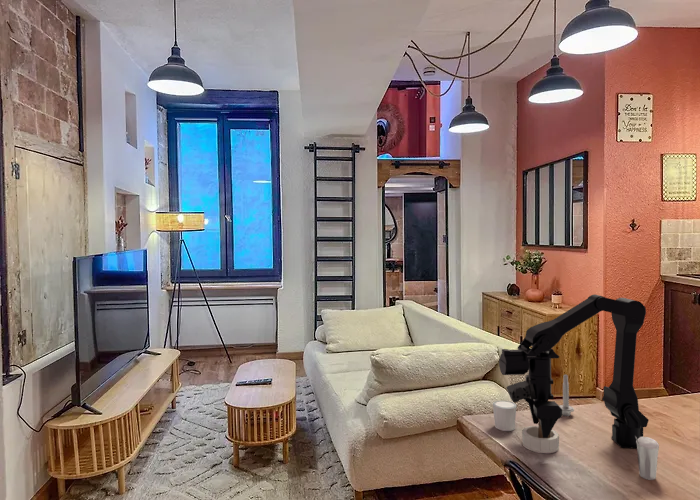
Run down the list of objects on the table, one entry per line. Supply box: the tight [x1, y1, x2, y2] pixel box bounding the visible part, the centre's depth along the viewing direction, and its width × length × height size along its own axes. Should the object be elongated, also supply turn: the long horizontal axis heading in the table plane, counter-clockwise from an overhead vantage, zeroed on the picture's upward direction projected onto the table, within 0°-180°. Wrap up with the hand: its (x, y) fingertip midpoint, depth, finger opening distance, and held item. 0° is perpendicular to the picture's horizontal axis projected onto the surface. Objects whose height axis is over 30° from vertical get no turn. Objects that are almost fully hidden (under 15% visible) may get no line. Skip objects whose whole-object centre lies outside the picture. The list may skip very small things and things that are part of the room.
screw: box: [558, 373, 575, 417], centre depth 150 cm, size 13×5×5 cm
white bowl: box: [521, 425, 560, 454], centre depth 129 cm, size 9×9×4 cm
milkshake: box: [635, 436, 660, 481], centre depth 112 cm, size 4×5×10 cm
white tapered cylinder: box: [492, 400, 518, 432], centre depth 142 cm, size 7×7×7 cm
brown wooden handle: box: [537, 419, 550, 438], centre depth 129 cm, size 3×3×9 cm
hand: (540, 430), depth 129 cm, fingers open, 9 cm apart
